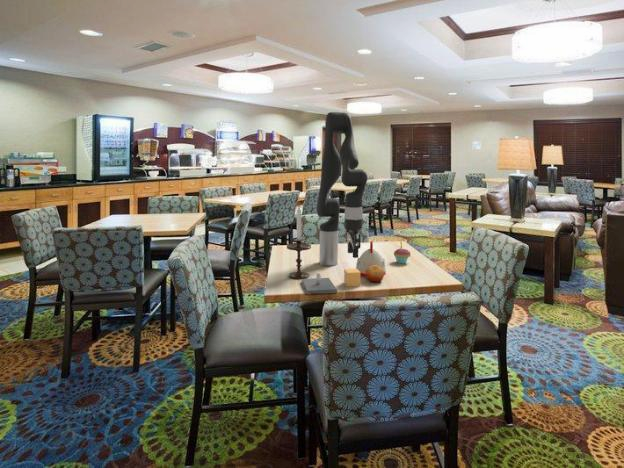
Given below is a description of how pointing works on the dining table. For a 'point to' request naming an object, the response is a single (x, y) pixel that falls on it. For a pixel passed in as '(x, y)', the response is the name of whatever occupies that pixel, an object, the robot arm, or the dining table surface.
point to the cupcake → (401, 254)
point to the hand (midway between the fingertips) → (352, 255)
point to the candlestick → (298, 249)
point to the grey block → (319, 285)
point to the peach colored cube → (352, 277)
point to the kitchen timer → (370, 260)
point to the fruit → (375, 273)
